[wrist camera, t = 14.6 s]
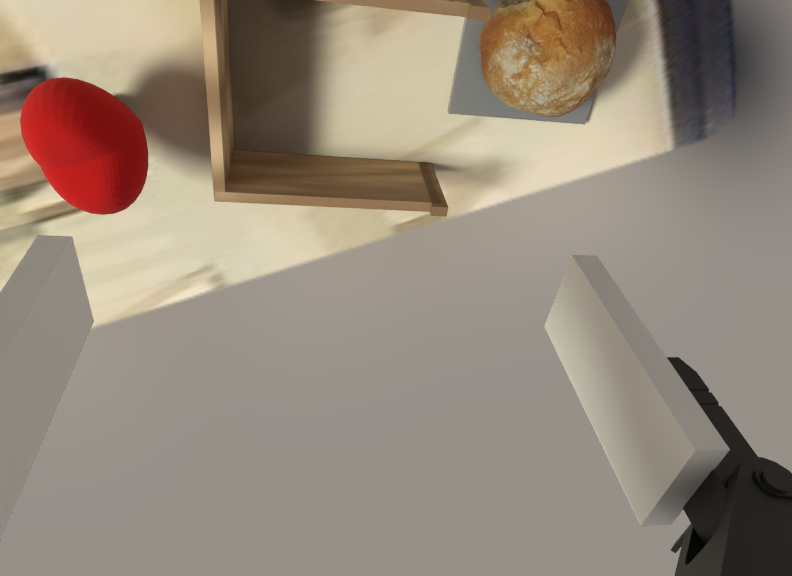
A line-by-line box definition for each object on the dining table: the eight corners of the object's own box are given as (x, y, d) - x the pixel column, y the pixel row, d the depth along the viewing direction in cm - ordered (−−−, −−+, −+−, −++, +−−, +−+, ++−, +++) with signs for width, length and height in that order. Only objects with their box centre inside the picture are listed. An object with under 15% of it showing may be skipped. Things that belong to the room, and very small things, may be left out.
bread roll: (456, 57, 48) (464, 132, 44) (505, -63, 39) (519, 18, 35) (565, 76, 50) (581, 148, 46) (635, -34, 41) (661, 45, 37)
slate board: (479, -57, 40) (480, -56, 40) (635, -36, 42) (638, -34, 42) (447, 111, 47) (448, 113, 47) (582, 122, 49) (584, 124, 49)
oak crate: (212, -49, 38) (196, -27, 32) (463, -18, 41) (490, 7, 35) (224, 158, 47) (213, 205, 42) (429, 171, 50) (446, 216, 45)
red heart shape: (183, 153, 47) (159, 218, 39) (101, 173, 47) (61, 242, 39) (127, 36, 41) (86, 84, 33) (33, 59, 41) (-30, 113, 33)
